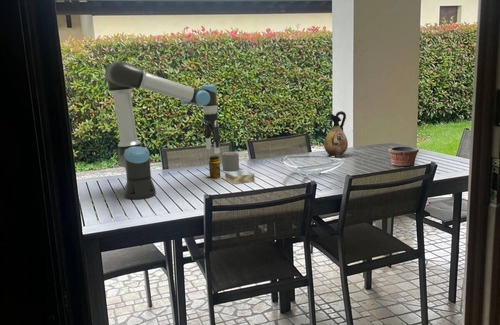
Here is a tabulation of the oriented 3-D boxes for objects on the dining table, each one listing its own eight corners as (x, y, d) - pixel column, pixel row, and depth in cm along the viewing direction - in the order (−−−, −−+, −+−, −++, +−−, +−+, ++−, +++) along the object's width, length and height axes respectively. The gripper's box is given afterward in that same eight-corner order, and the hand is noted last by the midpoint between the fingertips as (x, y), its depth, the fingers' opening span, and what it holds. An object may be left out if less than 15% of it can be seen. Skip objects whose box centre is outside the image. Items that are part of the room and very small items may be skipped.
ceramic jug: (329, 159, 294) (329, 113, 287) (320, 154, 308) (320, 110, 302) (353, 157, 297) (354, 111, 291) (344, 153, 312) (344, 109, 305)
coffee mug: (241, 170, 270) (240, 153, 268) (225, 172, 267) (224, 155, 265) (234, 166, 283) (233, 150, 281) (218, 167, 279) (218, 151, 277)
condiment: (223, 177, 254) (222, 156, 252) (210, 180, 250) (209, 158, 247) (217, 175, 260) (216, 154, 258) (204, 177, 256) (202, 156, 253)
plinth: (233, 184, 239) (233, 176, 238) (225, 179, 250) (225, 172, 249) (254, 181, 244) (254, 173, 243) (245, 176, 254) (245, 169, 253)
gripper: (225, 114, 238) (227, 154, 242) (209, 111, 260) (211, 147, 265) (211, 115, 235) (214, 155, 239) (196, 112, 257) (199, 148, 262)
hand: (212, 151), depth 252 cm, fingers open, 13 cm apart
